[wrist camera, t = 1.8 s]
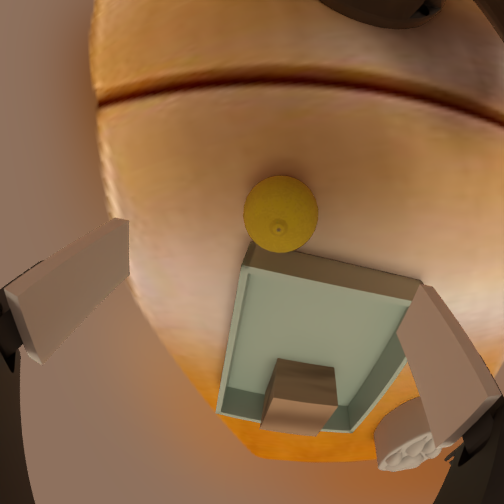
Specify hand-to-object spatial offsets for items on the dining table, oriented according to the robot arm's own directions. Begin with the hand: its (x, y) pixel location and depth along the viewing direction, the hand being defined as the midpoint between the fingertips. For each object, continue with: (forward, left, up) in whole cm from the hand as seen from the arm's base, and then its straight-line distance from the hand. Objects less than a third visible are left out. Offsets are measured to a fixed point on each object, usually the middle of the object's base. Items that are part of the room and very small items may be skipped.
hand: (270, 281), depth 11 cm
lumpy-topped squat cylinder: (+29, +29, -15) cm, 43 cm away
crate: (+15, +7, -14) cm, 22 cm away
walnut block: (+21, +7, -14) cm, 26 cm away
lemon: (0, 0, -14) cm, 15 cm away
